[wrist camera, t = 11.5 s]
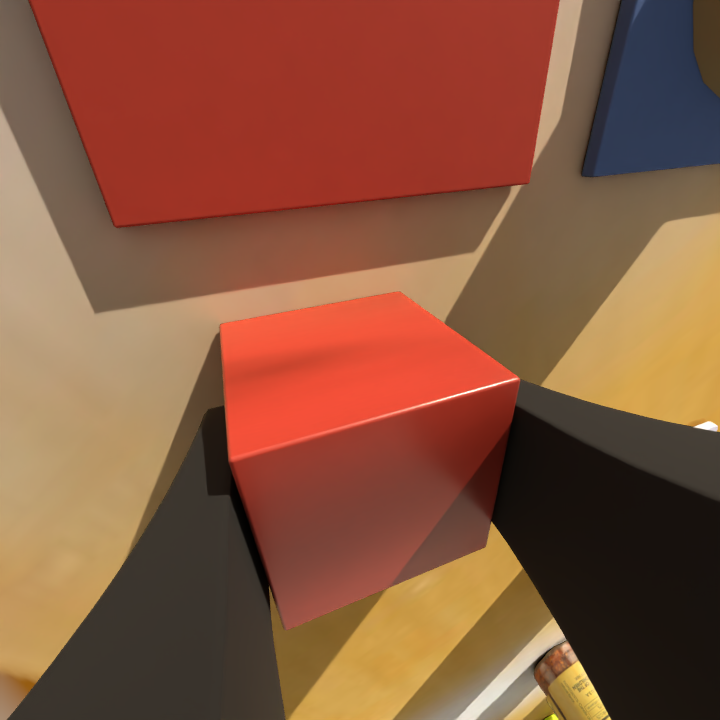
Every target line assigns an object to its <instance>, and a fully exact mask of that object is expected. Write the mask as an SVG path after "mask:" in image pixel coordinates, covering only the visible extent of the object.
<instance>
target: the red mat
mask: <svg viewBox="0 0 720 720" xmlns="http://www.w3.org/2000/svg"><path fill="white" fill-rule="evenodd" d="M28 1H29V3H30V6H31V9H32V11H33V14H34V17H35V19H36V22H37V25H38V27H39V30H40V32H41V35H42V38H43V40H44V43H45V46H46V48H47V51H48V54H49V56H50V59H51V62H52V64H53V67H54V69H55V72H56V75H57V77H58V80H59V83H60V85H61V88H62V91H63V93H64V96H65V98H66V101H67V104H68V106H69V109H70V112H71V114H72V117H73V120H74V122H75V125H76V127H77V130H78V133H79V135H80V138H81V141H82V143H83V146H84V149H85V151H86V154H87V156H88V159H89V162H90V164H91V167H92V170H93V172H94V175H95V178H96V180H97V183H98V185H99V188H100V191H101V193H102V196H103V199H104V201H105V204H106V207H107V209H108V212H109V214H110V217H111V220H112V222H113V225H114V226H115V227H116V228H121V227H130V226H140V225H149V224H158V223H168V222H177V221H187V220H196V219H205V218H215V217H224V216H233V215H243V214H252V213H261V212H271V211H280V210H289V209H299V208H308V207H318V206H327V205H336V204H346V203H355V202H364V201H374V200H383V199H392V198H402V197H411V196H421V195H430V194H439V193H449V192H458V191H467V190H477V189H486V188H495V187H505V186H514V185H523V184H528V183H529V182H530V176H531V170H532V164H533V158H534V151H535V145H536V139H537V133H538V127H539V121H540V115H541V109H542V103H543V97H544V91H545V85H546V79H547V73H548V67H549V61H550V55H551V49H552V43H553V37H554V31H555V25H556V19H557V13H558V7H559V1H560V0H28Z"/></svg>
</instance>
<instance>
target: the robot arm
mask: <svg viewBox="0 0 720 720" xmlns="http://www.w3.org/2000/svg"><path fill="white" fill-rule="evenodd" d="M717 429H718V426H717V425H716V424H714V423H712V422H710V421H709V422H705V423H702V424H700V425H697V426H694V427H691V426H686V425H681V424H676V423H671V422H666V421H662V420H657V419H653V418H648V417H644V416H640V415H636V414H632V413H628V412H624V411H620V410H617V409H613V408H609V407H605V406H601V405H598V404H594V403H591V402H587V401H584V400H581V399H578V398H574V397H571V396H568V395H565V394H562V393H559V392H556V391H553V390H550V389H547V388H544V387H541V386H538V385H535V384H532V383H529V382H527V381H524V380H521V379H520V384H519V389H518V394H517V399H516V404H515V408H514V413H513V418H512V423H511V428H510V433H509V438H508V442H507V447H506V452H505V457H504V462H503V467H502V472H501V476H500V481H499V486H498V491H497V496H496V501H495V505H494V510H493V515H492V520H491V521H492V523H493V524H494V525H495V526H496V528H497V529H498V531H499V532H500V533H501V535H502V536H503V538H504V539H505V540H506V542H507V543H508V545H509V546H510V548H511V549H512V551H513V553H514V554H515V556H516V557H517V559H518V560H519V562H520V563H521V565H522V567H523V568H524V570H525V571H526V573H527V574H528V576H529V578H530V579H531V581H532V582H533V584H534V586H535V587H536V589H537V590H538V592H539V594H540V595H541V597H542V599H543V600H544V602H545V604H546V605H547V607H548V609H549V610H550V612H551V614H552V615H553V617H554V619H555V620H556V622H557V624H558V625H559V627H560V629H561V630H562V632H563V634H564V636H565V637H566V639H567V641H568V643H569V644H570V646H571V648H572V650H573V651H574V653H575V655H576V657H577V658H578V660H579V662H580V664H581V665H582V667H583V669H584V671H585V672H586V674H587V676H588V678H589V680H590V681H591V683H592V685H593V687H594V688H595V690H596V692H597V694H598V696H599V698H600V700H601V702H602V704H603V705H604V707H605V709H606V711H607V713H608V715H609V717H610V719H611V720H720V432H716V431H717ZM7 720H286V719H285V712H284V706H283V700H282V693H281V687H280V680H279V674H278V667H277V661H276V654H275V648H274V641H273V631H272V622H271V611H270V596H269V583H268V580H267V577H266V574H265V571H264V568H263V565H262V562H261V559H260V556H259V553H258V550H257V547H256V544H255V541H254V538H253V535H252V532H251V529H250V525H249V522H248V519H247V516H246V513H245V510H244V507H243V504H242V501H241V498H240V495H239V492H238V489H237V486H236V483H235V480H234V477H233V474H232V471H231V468H230V465H229V462H228V450H227V435H226V420H225V405H224V406H220V407H215V408H211V409H208V410H207V412H206V413H205V414H204V416H203V419H202V422H201V424H200V426H199V429H198V431H197V433H196V436H195V438H194V440H193V442H192V444H191V446H190V449H189V451H188V453H187V455H186V457H185V459H184V461H183V463H182V465H181V467H180V469H179V471H178V473H177V474H176V476H175V478H174V480H173V482H172V484H171V486H170V488H169V490H168V492H167V493H166V495H165V497H164V499H163V500H162V502H161V504H160V505H159V507H158V509H157V511H156V512H155V514H154V516H153V517H152V519H151V521H150V522H149V524H148V526H147V528H146V529H145V531H144V533H143V534H142V536H141V538H140V539H139V541H138V542H137V544H136V545H135V547H134V549H133V550H132V552H131V553H130V555H129V556H128V558H127V559H126V561H125V562H124V564H123V565H122V567H121V568H120V570H119V571H118V573H117V574H116V576H115V577H114V579H113V580H112V582H111V583H110V584H109V586H108V587H107V589H106V590H105V592H104V593H103V595H102V596H101V597H100V599H99V600H98V602H97V603H96V605H95V606H94V607H93V609H92V610H91V611H90V613H89V614H88V615H87V617H86V618H85V619H84V621H83V622H82V623H81V625H80V626H79V627H78V629H77V630H76V631H75V633H74V634H73V636H72V637H71V638H70V640H69V641H68V642H67V644H66V645H65V646H64V648H63V649H62V650H61V652H60V653H59V654H58V656H57V657H56V658H55V660H54V661H53V662H52V664H51V665H50V666H49V667H48V669H47V670H46V671H45V673H44V674H43V675H42V676H41V678H40V679H39V680H38V682H37V683H36V684H35V686H34V687H33V688H32V689H31V691H30V692H29V693H28V694H27V696H26V697H25V698H24V699H23V701H22V702H21V703H20V704H19V706H18V707H17V708H16V709H15V711H14V712H13V713H12V714H11V715H10V717H9V718H8V719H7Z"/></svg>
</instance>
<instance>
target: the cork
mask: <svg viewBox="0 0 720 720" xmlns="http://www.w3.org/2000/svg"><path fill="white" fill-rule="evenodd" d="M693 49H694V54H695V57H696V60H697V63H698V67H699V70H700V73H701V76H702V80H703V82H704V83H705V84H706V85H707V86H708V87H709V88H710V89H711V90H712V91H713V92H714V93H715V94H716V95H717V96H718V97H719V98H720V0H694V1H693Z"/></svg>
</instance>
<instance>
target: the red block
mask: <svg viewBox="0 0 720 720" xmlns="http://www.w3.org/2000/svg"><path fill="white" fill-rule="evenodd" d="M219 328H220V343H221V358H222V374H223V389H224V404H225V420H226V435H227V450H228V462H229V465H230V468H231V471H232V474H233V477H234V480H235V483H236V486H237V489H238V492H239V495H240V498H241V501H242V504H243V507H244V510H245V513H246V516H247V519H248V522H249V525H250V529H251V532H252V535H253V538H254V541H255V544H256V547H257V550H258V553H259V556H260V559H261V562H262V565H263V568H264V571H265V574H266V577H267V580H268V583H269V586H270V589H271V592H272V595H273V598H274V601H275V604H276V607H277V610H278V613H279V616H280V619H281V623H282V626H283V628H284V630H289V629H291V628H294V627H296V626H299V625H301V624H303V623H306V622H308V621H310V620H313V619H315V618H318V617H320V616H322V615H325V614H327V613H330V612H332V611H334V610H337V609H339V608H341V607H344V606H346V605H349V604H351V603H353V602H356V601H358V600H361V599H363V598H365V597H368V596H370V595H372V594H375V593H377V592H380V591H382V590H384V589H387V588H389V587H392V586H394V585H396V584H399V583H401V582H403V581H406V580H408V579H411V578H413V577H415V576H418V575H420V574H423V573H425V572H427V571H430V570H432V569H434V568H437V567H439V566H442V565H444V564H446V563H449V562H451V561H454V560H456V559H458V558H461V557H463V556H465V555H468V554H470V553H473V552H475V551H477V550H480V549H482V548H484V547H486V544H487V539H488V535H489V530H490V525H491V520H492V515H493V510H494V505H495V501H496V496H497V491H498V486H499V481H500V476H501V472H502V467H503V462H504V457H505V452H506V447H507V442H508V438H509V433H510V428H511V423H512V418H513V413H514V408H515V404H516V399H517V394H518V389H519V384H520V378H519V377H518V376H517V375H515V374H514V373H512V372H511V371H510V370H508V369H507V368H505V367H504V366H503V365H501V364H500V363H499V362H497V361H496V360H494V359H493V358H492V357H490V356H489V355H487V354H486V353H485V352H483V351H482V350H480V349H479V348H478V347H476V346H475V345H473V344H472V343H471V342H469V341H468V340H467V339H465V338H464V337H462V336H461V335H460V334H458V333H457V332H455V331H454V330H453V329H451V328H450V327H448V326H447V325H446V324H444V323H443V322H442V321H440V320H439V319H437V318H436V317H435V316H433V315H432V314H430V313H429V312H428V311H426V310H425V309H423V308H422V307H421V306H419V305H418V304H416V303H415V302H414V301H412V300H411V299H410V298H408V297H407V296H405V295H404V294H403V293H401V292H393V293H388V294H382V295H377V296H371V297H366V298H360V299H355V300H349V301H344V302H338V303H333V304H327V305H322V306H316V307H311V308H305V309H300V310H294V311H289V312H284V313H278V314H273V315H267V316H262V317H256V318H251V319H245V320H240V321H234V322H229V323H223V324H220V327H219Z"/></svg>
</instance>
